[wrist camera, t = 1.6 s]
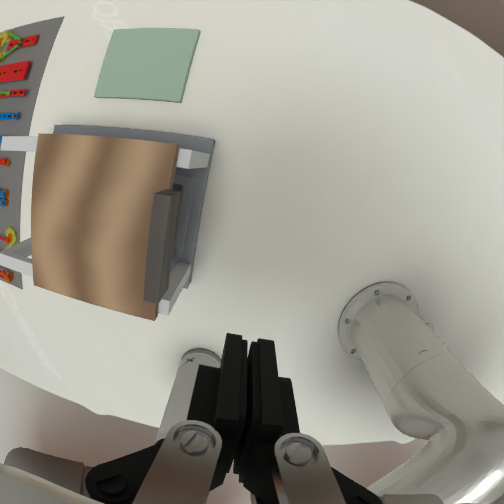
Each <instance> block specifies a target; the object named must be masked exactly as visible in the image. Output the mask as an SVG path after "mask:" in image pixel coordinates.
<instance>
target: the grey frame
mask: <svg viewBox="0 0 504 504" xmlns="http://www.w3.org/2000/svg"><path fill="white" fill-rule="evenodd" d="M53 134H70V135H89V136H103V137H116V138H126V139H136V140H146V141H154V142H162V143H170V144H177V145H180V148H179V153H178V159H177V164H176V170H175V175H174V181H173V187H172V190H173V191H179V192H181V197H180V203H179V210H178V216H177V223H176V230H175V237H174V245H173V252H172V260H171V269H170V278H169V287H168V290H167V291H166V293H165V294H164V296H163V297H162V299H161V301H160V302H159V304H158V313H160V314H164V315H169V313H170V311H171V309H172V307H173V305H174V304H175V302H176V300H177V298H178V296H179V294H180V292H181V290H182V288H186V289H188V287H189V285H190V283H191V276H192V269H193V262H194V255H195V249H196V242H197V236H198V230H199V224H200V218H201V212H202V206H203V200H204V195H205V189H206V184H207V179H208V173H209V168H210V163H211V158H212V153H213V148H214V143H215V140H214V139H210V138H203V137H197V136H190V135H183V134H175V133H168V132H159V131H150V130H140V129H129V128H117V127H102V126H81V125H55V126H54V132H53ZM37 141H38V136H2V143H1V150H7V151H31V152H36V148H37ZM30 255H32V249H31V238H29V239H27V240H25V241H23V242H20V243H18V244H16V245H14V246H12V247H9V248H7V249H5V250H3V251H1V252H0V265H1V266H4V267H7V268H9V269H12V270H15V271H17V272H20V273H23V274H26V275H29V276H32V277H33V268H32V259H29V258H26V257H28V256H30Z"/></svg>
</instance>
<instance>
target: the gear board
mask: <svg viewBox="0 0 504 504" xmlns="http://www.w3.org/2000/svg"><path fill="white" fill-rule="evenodd" d="M63 19H64V17H59V18H54V19H49V20H44V21H40V22H36V23H32V24H28V25H24V26H20V27H17V28H14V29H10V30H6V31H4V32H1V33H0V252H1V251H3V250H5V249H7V248H9V247H12V246H14V245H16V244H18V243H20V210H21V193H22V181H23V171H24V162H25V155H26V151H7V150H1V143H2V136H29V131H30V125H31V120H32V116H33V111H34V107H35V103H36V99H37V95H38V91H39V87H40V83H41V80H42V77H43V73H44V70H45V67H46V64H47V61H48V58H49V55H50V52H51V49H52V46H53V44H54V41H55V38H56V36H57V33H58V31H59V28H60V26H61V24H62V21H63ZM0 280H2V281H5V282H7V283H9V284H11V285H14V286H16V287H18V288H20V289H23V287H22V275H21V273H20V272H17V271H15V270H12V269H9V268H7V267H4V266H1V265H0Z"/></svg>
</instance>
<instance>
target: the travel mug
mask: <svg viewBox="0 0 504 504" xmlns="http://www.w3.org/2000/svg"><path fill="white" fill-rule="evenodd" d="M199 364H201V365H206V366H212V367H217V368H220V365H221V360H220V359H219V357H218V356H217V355H215V354H214V353H213V352H211V351H208V350H205V349H193V350H190V351H188V352H187V353H185V354H184V356H183V357H182V360H181V363H180V366H179V369H178V372H177V375H176V378H175V381H174V384H173V387H172V390H171V394H170V397H169V400H168V403H167V406H166V409H165V412H164V416H163V419H162V422H161V425H160V429H159V432H158V435H157V439H156V442H155V445H156V444H158V443H161V442H163V441H164V439H165V437H166V435H167V433H168V431H169V430H170V429H171V427H172V426H173V425H175V424H177V423H178V422H182V421H185V420H187V415H188V411H189V406H190V402H191V397H192V393H193V389H194V384H195V380H196V376H197V371H198V367H199Z"/></svg>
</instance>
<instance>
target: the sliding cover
mask: <svg viewBox="0 0 504 504" xmlns="http://www.w3.org/2000/svg"><path fill="white" fill-rule="evenodd" d="M179 148H180V145H177V144H170V143H162V142H154V141H146V140H136V139H126V138H116V137H103V136H89V135H70V134H38V141H37V148H36V155H35V164H34V174H33V186H32V205H31V249H32V268H33V281H34V285H35V286H38V287H41V288H44V289H47V290H50V291H53V292H56V293H59V294H62V295H65V296H68V297H71V298H74V299H77V300H81V301H84V302H87V303H90V304H94V305H97V306H101V307H104V308H108V309H111V310H115V311H118V312H122V313H126V314H129V315H133V316H137V317H141V318H145V319H149V320H153V321H155V319H156V317H157V316H158V304H159V302H160V301H161V299H162V297H163V296H164V294H165V293H166V291H167V290H168V287H169V278H170V269H171V260H172V252H173V245H174V237H175V230H176V223H177V216H178V210H179V203H180V197H181V192H179V191H173V190H172V187H173V181H174V175H175V170H176V164H177V159H178V153H179Z"/></svg>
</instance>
